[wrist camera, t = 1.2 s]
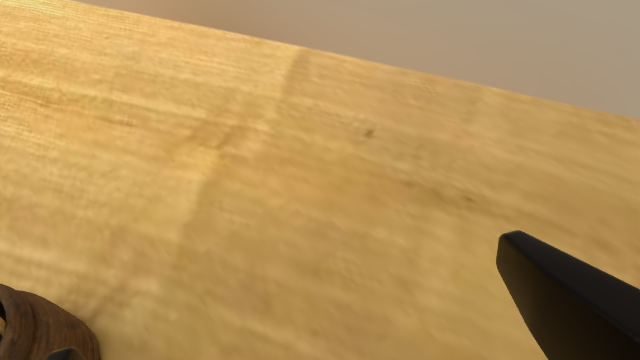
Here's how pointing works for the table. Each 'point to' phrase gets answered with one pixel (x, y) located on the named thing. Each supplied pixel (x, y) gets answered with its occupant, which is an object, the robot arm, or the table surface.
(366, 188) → the table surface
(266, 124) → the table surface
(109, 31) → the table surface
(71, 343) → the utensil holder
